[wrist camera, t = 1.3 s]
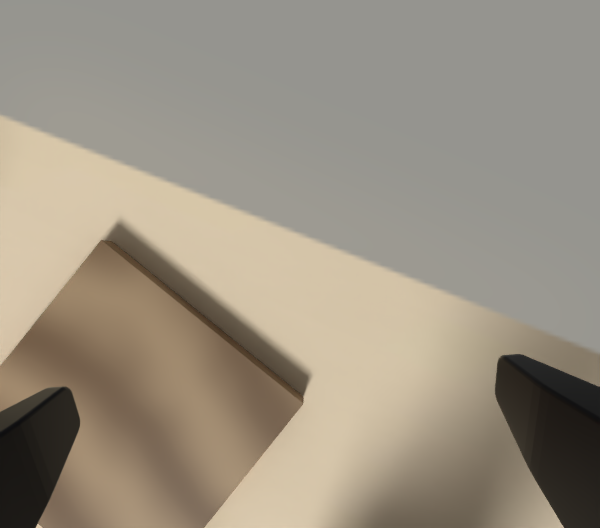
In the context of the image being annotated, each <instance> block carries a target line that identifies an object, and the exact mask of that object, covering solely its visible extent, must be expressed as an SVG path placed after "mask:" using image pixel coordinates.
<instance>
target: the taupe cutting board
mask: <svg viewBox="0 0 600 528" xmlns="http://www.w3.org/2000/svg"><path fill="white" fill-rule="evenodd" d="M61 386H66V387H68V388H70V390H71V391H72V394H73V397H74V400H75V403H76V406H77V410H78V413H79V416H80V428H79V431H78V434H77V436H76V439H75V441H74V444H73V446H72V448H71V451H70V453H69V456H68V458H67V460H66V463H65V465H64V468H63V470H62V472H61V475H60V477H59V480H58V482H57V484H56V487H55V489H54V491H53V494H52V496H51V498H50V500H49V502H48V504H47V506H46V508H45V510H44V512H43V514H42V516H41V518H40V520H39V522H38V524H39V525H40V526H42V527H43V528H204V527H205V526H206V525H207V523H208V522H209V521H210V520H211V518H212V517H213V516H214V515H215V513H216V512H217V511H218V510H219V508H220V507H221V506H222V505H223V503H224V502H225V501H226V500H227V498H228V497H229V496H230V495H231V493H232V492H233V491H234V490H235V488H236V487H237V486H238V485H239V483H240V482H241V481H242V480H243V478H244V477H245V476H246V475H247V473H248V472H249V471H250V470H251V468H252V467H253V466H254V465H255V463H256V462H257V461H258V460H259V458H260V457H261V456H262V455H263V453H264V452H265V451H266V450H267V448H268V447H269V446H270V445H271V443H272V442H273V441H274V440H275V438H276V437H277V436H278V435H279V433H280V432H281V431H282V430H283V428H284V427H285V426H286V425H287V423H288V422H289V421H290V420H291V418H292V417H293V416H294V415H295V413H296V412H297V411H298V410H299V408H300V407H301V406H302V405H303V396H302V395H301V394H300V393H298V392H297V391H296V390H295V389H293V388H292V387H291V386H290V385H289V384H287V383H286V382H285V381H284V380H282V379H281V378H280V377H279V376H277V375H276V374H275V373H274V372H272V371H271V370H270V369H269V368H268V367H266V366H265V365H264V364H263V363H261V362H260V361H259V360H258V359H256V358H255V357H254V356H253V355H251V354H250V353H249V352H248V351H247V350H245V349H244V348H243V347H242V346H240V345H239V344H238V343H237V342H235V341H234V340H233V339H232V338H230V337H229V336H228V335H227V334H226V333H224V332H223V331H222V330H221V329H219V328H218V327H217V326H216V325H214V324H213V323H212V322H211V321H209V320H208V319H207V318H206V317H205V316H203V315H202V314H201V313H200V312H198V311H197V310H196V309H195V308H193V307H192V306H191V305H190V304H188V303H187V302H186V301H185V300H184V299H182V298H181V297H180V296H179V295H177V294H176V293H175V292H174V291H172V290H171V289H170V288H169V287H167V286H166V285H165V284H164V283H163V282H161V281H160V280H159V279H158V278H156V277H155V276H154V275H153V274H151V273H150V272H149V271H148V270H146V269H145V268H144V267H143V266H142V265H140V264H139V263H138V262H137V261H135V260H134V259H133V258H132V257H130V256H129V255H128V254H127V253H125V252H124V251H123V250H122V249H120V248H119V247H118V246H117V245H116V244H114V243H113V242H111V241H104V240H101V241H100V243H99V244H98V245H97V246H96V248H95V249H94V250H93V251H92V253H91V254H90V255H89V256H88V258H87V259H86V260H85V261H84V263H83V264H82V265H81V266H80V268H79V269H78V270H77V271H76V273H75V274H74V275H73V276H72V278H71V279H70V280H69V281H68V283H67V284H66V285H65V286H64V288H63V289H62V290H61V291H60V293H59V294H58V295H57V296H56V298H55V299H54V300H53V301H52V303H51V304H50V305H49V306H48V308H47V309H46V310H45V311H44V313H43V314H42V315H41V316H40V318H39V319H38V320H37V321H36V323H35V324H34V325H33V326H32V328H31V329H30V330H29V331H28V333H27V334H26V335H25V336H24V338H23V339H22V340H21V341H20V343H19V344H18V345H17V346H16V348H15V349H14V350H13V351H12V353H11V354H10V355H9V356H8V358H7V359H6V360H5V361H4V363H3V364H2V365H1V366H0V412H1V411H3V410H5V409H6V408H8V407H10V406H12V405H14V404H16V403H18V402H20V401H22V400H24V399H26V398H28V397H30V396H32V395H34V394H36V393H38V392H40V391H41V390H43V389H46V388H49V387H61Z"/></svg>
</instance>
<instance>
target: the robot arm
mask: <svg viewBox="0 0 600 528" xmlns="http://www.w3.org/2000/svg"><path fill="white" fill-rule="evenodd" d="M495 395H496V399H497V402H498V404H499V406H500V408H501V410H502V412H503V415H504V417H505V419H506V421H507V423H508V425H509V427H510V430H511V432H512V434H513V436H514V438H515V440H516V442H517V445H518V447H519V449H520V451H521V453H522V455H523V457H524V459H525V461H526V463H527V465H528V467H529V469H530V471H531V473H532V475H533V476H534V478H535V480H536V482H537V483H538V485H539V487H540V488H541V490H542V492H543V493H544V495H545V497H546V498H547V500H548V502H549V503H550V505H551V507H552V508H553V510H554V512H555V513H556V515H557V517H558V518H559V520H560V522H561V524H562V525H563V527H564V528H600V387H598V386H596V385H593V384H591V383H589V382H586V381H584V380H581V379H579V378H577V377H574V376H572V375H569V374H567V373H565V372H562V371H560V370H558V369H555V368H553V367H550V366H548V365H546V364H543V363H541V362H538V361H536V360H534V359H531V358H529V357H526V356H524V355H521V354H514V355H503V356H501V357H500V358H499V360H498V363H497V373H496V384H495ZM79 428H80V416H79V413H78V410H77V406H76V403H75V400H74V397H73V394H72V391H71V390H70V388H68V387H66V386H61V387H49V388H46V389H43V390H41V391H40V392H38V393H36V394H34V395H32V396H30V397H28V398H26V399H24V400H22V401H20V402H18V403H16V404H14V405H12V406H10V407H8V408H6V409H5V410H3V411H1V412H0V528H36V526H37V524H38V522H39V520H40V518H41V516H42V514H43V512H44V510H45V508H46V506H47V504H48V502H49V500H50V498H51V496H52V494H53V491H54V489H55V487H56V484H57V482H58V480H59V477H60V475H61V472H62V470H63V468H64V465H65V463H66V460H67V458H68V456H69V453H70V451H71V448H72V446H73V444H74V441H75V439H76V436H77V434H78V431H79Z"/></svg>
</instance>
